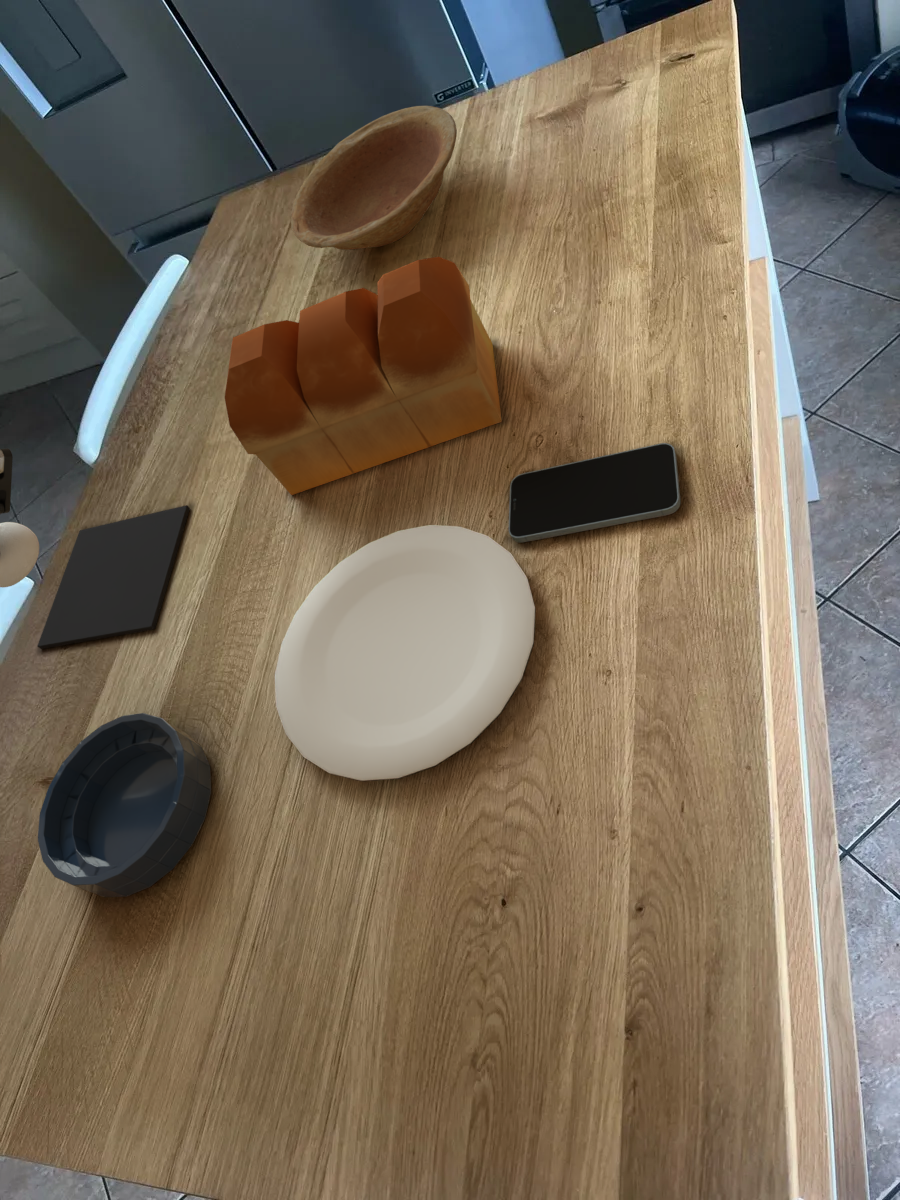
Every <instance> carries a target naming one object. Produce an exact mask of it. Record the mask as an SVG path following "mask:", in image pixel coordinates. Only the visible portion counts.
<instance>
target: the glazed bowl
mask: <svg viewBox="0 0 900 1200" xmlns="http://www.w3.org/2000/svg"><path fill="white" fill-rule="evenodd" d="M211 795H212V777H211V765H210V763H209V761H208V758H207V755H206V753H205V751H204V749H203V747H202V745H200V744H199V743H198V742H197V741H196V740H195V739H194V738H193V737H192V736H191V735H190V734H188V733H186V732H185V731H184V730H181V729H180V728H179V727H177V726H175V724H172V723H171V722H169V721H168V720H166V719H164V718H163V717H160V716H156V715H153V714H149V713H146V712H141V713H134V714H124V715H121V716H119V717H117V718H114V719H112V720H110V721H108V722H106V723H104V724H101V725H100V726H99V727H97V728H96V729H95V730H94V731H92V732H91V733H90V734H88V735H87V736H86V737H84V738H83V739H82V740H81V741H80V742H79V743H78V744H77V745H76V747H74V749H73V750H72V751H71V752H70V753H69V754H68V756H67V757H66V758H64V760H63V762H62V763H61V764H60V766H59V768H58V770H57V772H56V773H55V775H54V777H53V779H52V780H51V782H50V783H49V786H48V788H47V790H46V792H45V797H44V800H43V803H42V806H41V809H40V811H39V816H38V828H37V829H38V830H37V843H38V847H39V851H40V855H41V860H42V862H43V864H44V865H45V866H46V867H47V869H48V870H49V871H50V873H51V875H53V877H54V878H55V879H58V880H60V881H62V882H64V883H67V884H69V885H70V886H73V887H76V888H79V889H80V890H84V891H87V892H89V893H92V894H94V895H97V896H100V897H103V898H122V897H123V898H124V897H129V896H131V895H135V894H136V893H139V892H141V891H143V890H146V889H148V888H151V887H152V886H153V885H155V884H156V883H157V882H159V881H160V880H162V878H164V877H165V876H166V875H167V874H169V873H170V872H171V871H173V869H174V868H175V867H176V866H177V865H178V864H179V863H180V862H181V860H182V858H183V857H184V856H185V855H186V854H187V852H188V851H189V850H190V849H191V847H192V846H193V844H194V842H195V840H196V838H197V837H198V834H199V832H200V830H201V828H202V826H203V824H204V822H205V819H206V817H207V812H208V808H209V803H210V798H211Z"/></svg>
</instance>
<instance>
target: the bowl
mask: <svg viewBox="0 0 900 1200" xmlns="http://www.w3.org/2000/svg"><path fill="white" fill-rule="evenodd" d="M457 135H458V131H457V124H456V121H455V119H454V118H453V116H452V115H451V113H449V112H448V111H447V110H445V109H443V108H441V107H439V106H438V107H437V106H433V105H415V106H411V107H410V106H409V107H405V108H401V109H398V110H396V111H392V112H389V113H387V114H385V115H382V116H380V117H378V118H376V119H374V120H372V121H370V122H368V123H367V124H365V125H363V126H361V127H359V128H358V129H357V130H355V131H354V132H352V133H351V134H349V135H348V136H346V137H345V138H344V139H342V140H341V141H339V142H337V144H335V146H334V147H333V148H332V149H331V150H329V152H328V153H327V154H326V155H325V156H323V158H321V160H320V161H318V163H317V164H316V165H315V166H314V167H313V169H312V170H311V171H310V172H309V174H308V175H307V176H306V178H305V179H304V181H303V183H302V184H301V186H300V188H299V190H298V191H297V194H296V196H295V198H294V201H293V204H292V210H291V217H290V225H291V229H292V232H293V234H294V236H295V237H296V238H297V239H298V241H300V242H301V243H303V244H305V245H306V246H308V247H312V248H315V249H324V248H335V249H337V250H342V251H344V250H345V251H346V250H347V251H349V250H350V251H351V250H359V249H369V248H379V247H383V246H387V245H390V244H393V243H396V242H398V241H399V240H401V239H403V238H404V237H406V236H408V234H409V233H410V232H412V231H413V230H414V229H415V227H416V226H417V225H418V224H419V223H420V222H421V221H422V220H423V217H424V215H425V214H426V212H427V211H428V210H429V208H430V207H431V205H432V204H433V202H434V201H435V199H436V197H437V196H438V194H439V192H440V191H441V188H442V185H443V181H444V172H445V170H446V168H447V167H448V165H449V164H450V160H451V159H452V157H453V152H454V149H455V146H456V141H457Z"/></svg>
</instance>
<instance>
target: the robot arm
mask: <svg viewBox="0 0 900 1200" xmlns="http://www.w3.org/2000/svg"><path fill="white" fill-rule="evenodd" d="M13 459H14V457H13V453H12V451H11V449H9V448H0V515H3V514H8V513H10V511H11V501H12V500H11V499H12V477H13Z"/></svg>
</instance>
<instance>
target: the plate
mask: <svg viewBox="0 0 900 1200" xmlns="http://www.w3.org/2000/svg"><path fill="white" fill-rule="evenodd" d="M536 610H537V609H536V606H535V601H534V597H533V593H532V590H531V587H530V581H529V579H528V577H527V575H526V574H525V572H524V571H523V569H522V568H521V566H520V565H519V563H518V561H517V560H516V559H515V557H514V556H513V554H512V553H511V552H510V551H509V550H508V549H506V548H505V547H504V546H502V545H501V544H500V543H498V542H497V541H496V540H494V539H493V538H492V537H490V536H489V535H486V534H484V533H481V532H478V531H475V530H472V529H469V528H466V527H463V526H461V525H443V524H442V525H440V524H439V525H438V524H428V525H421V526H417V527H410V528H406V529H401V530H397V531H394V532H392V533H389V534H387V535H385V536H383V537H380V538H377V539H375V540H373V541H370V542H368V543H367V544H365V545H363V546H362V547H360V548H359V549H357V550H356V551H355V552H353V553H351V554H350V555H349V556H346V557H345V558H343V559H342V560H341V561H339V562H338V563H337V564H336V565H335V566H334V567H333V568H332V569H331V570H330V571H328V573H327V574H326V575H324V576H323V578H321V580H319V581H318V583H316V584H315V585H314V587H313V588H312V590H311V591H310V592H309V593H308V595H307V596H306V598H305V599H304V600H303V602H302V603H301V604H300V606H299V607H298V609H296V611H295V613H294V616H293V618H292V620H291V621H290V624H289V626H288V628H287V630H286V633H285V635H284V637H283V639H282V642H281V644H280V648H279V653H278V657H277V663H276V667H275V672H274V690H275V691H274V694H275V695H274V696H275V707H276V711H277V714H278V716H279V717H278V718H279V719H280V722H281V725H282V728H283V731H284V734H285V736H286V737H287V738H288V739H289V741H290V742H291V743H292V744H293V746H294V747H295V748H296V749H297V750H298V752H299V753H300V754H301V756H302V758H305V760H307V761H309V762H311V763H312V764H314V765H316V766H317V767H319V768H320V769H322V770H323V771H325V772H327V773H328V774H330V775H333V776H338V777H342V778H347V779H351V780H356V781H360V782H374V781H389V780H399V779H403V778H405V777H408V776H411V775H414V774H418V773H420V772H423V771H426V770H429V769H431V768H435V767H437V766H439V765H440V764H442V763H444V762H446V761H447V760H448V759H450V758H451V757H453V756H454V755H456V754H457V753H459V752H461V751H462V750H464V749H466V748H468V747H469V746H470V745H472V744H473V743H474V742H475V741H476V740H477V739H478V738H479V737H480V736H481V735H482V734H483V732H485V731H486V730H487V729H488V728H489V727H490V726H491V725H492V724H493V723H494V722H495V721H496V720H497V719H498V717H499V716H501V714H502V713H503V711H504V709H505V708H506V706H507V705H508V703H509V702H510V700H511V698H512V697H513V695H514V693H515V692H516V690H517V689H518V687H519V685H520V684H521V682H522V681H523V678H524V675H525V672H526V669H527V666H528V663H529V661H530V656H531V654H532V651H533V647H534V645H535V632H536V631H535V628H536Z"/></svg>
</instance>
